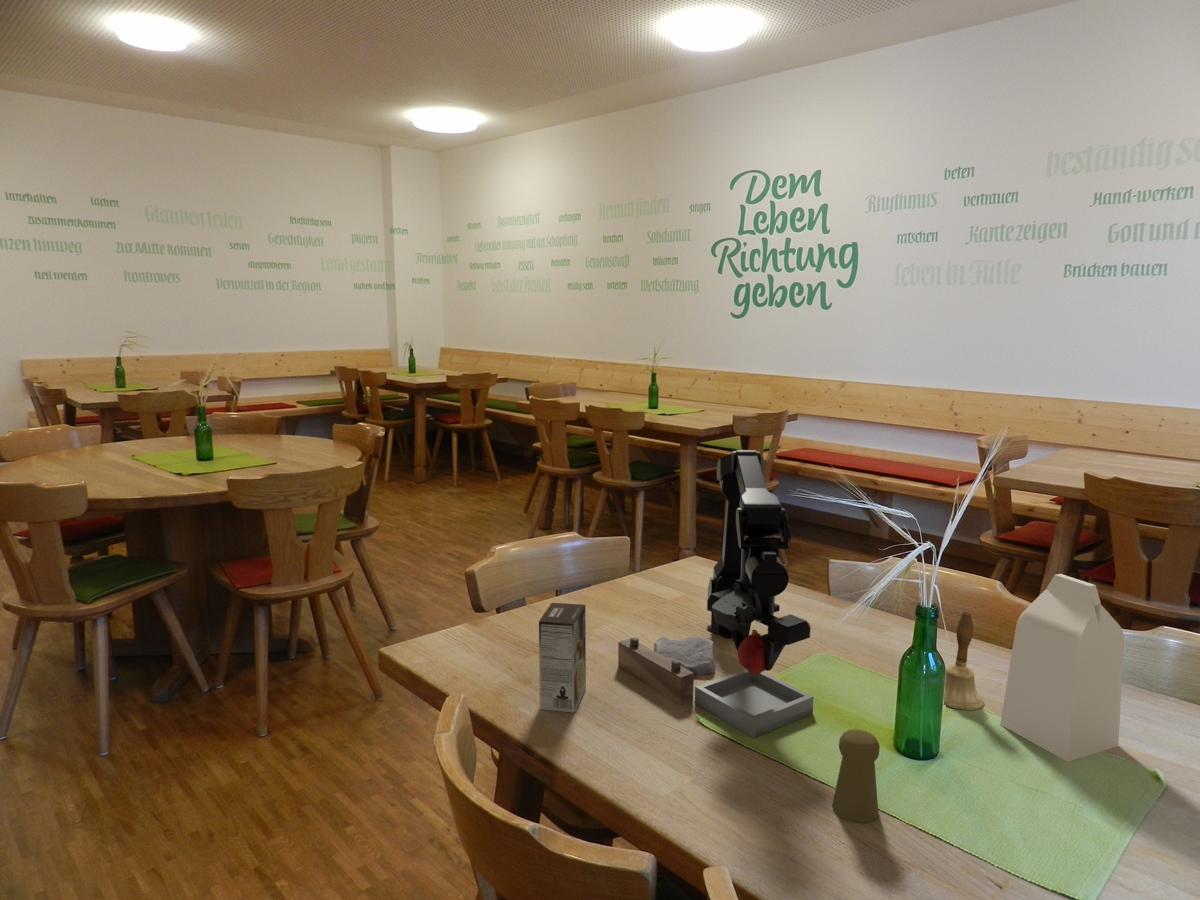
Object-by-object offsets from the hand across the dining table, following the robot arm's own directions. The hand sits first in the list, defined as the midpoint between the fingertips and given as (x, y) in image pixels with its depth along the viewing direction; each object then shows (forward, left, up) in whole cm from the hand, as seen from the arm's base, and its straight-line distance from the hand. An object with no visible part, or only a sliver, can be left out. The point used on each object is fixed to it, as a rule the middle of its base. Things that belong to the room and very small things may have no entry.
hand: (754, 663), depth 136 cm
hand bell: (-32, +18, -8) cm, 38 cm away
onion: (0, 0, -2) cm, 2 cm away
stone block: (-2, -20, -9) cm, 22 cm away
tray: (0, 0, -8) cm, 8 cm away
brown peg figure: (+9, +28, -8) cm, 31 cm away
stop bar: (+8, -17, -8) cm, 20 cm away
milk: (-34, +34, -8) cm, 49 cm away
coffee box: (+25, -21, -8) cm, 34 cm away
